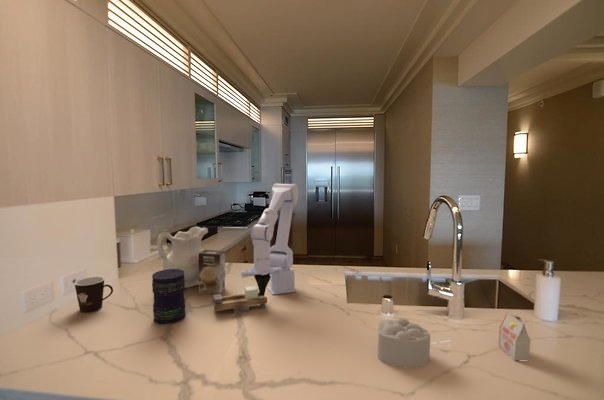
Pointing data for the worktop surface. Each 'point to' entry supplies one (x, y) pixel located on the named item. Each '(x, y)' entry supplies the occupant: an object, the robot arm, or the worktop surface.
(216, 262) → the coffee box
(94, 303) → the coffee mug
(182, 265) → the ceramic pitcher
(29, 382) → the worktop surface
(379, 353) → the lumpy-topped squat cylinder
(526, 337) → the gable top carton
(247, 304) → the beam
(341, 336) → the worktop surface
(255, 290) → the block
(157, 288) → the storage jar
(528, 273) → the worktop surface
